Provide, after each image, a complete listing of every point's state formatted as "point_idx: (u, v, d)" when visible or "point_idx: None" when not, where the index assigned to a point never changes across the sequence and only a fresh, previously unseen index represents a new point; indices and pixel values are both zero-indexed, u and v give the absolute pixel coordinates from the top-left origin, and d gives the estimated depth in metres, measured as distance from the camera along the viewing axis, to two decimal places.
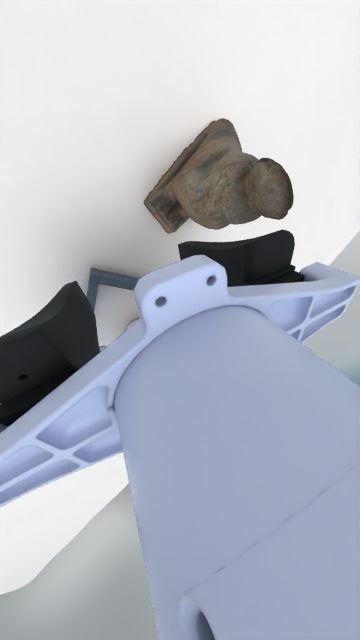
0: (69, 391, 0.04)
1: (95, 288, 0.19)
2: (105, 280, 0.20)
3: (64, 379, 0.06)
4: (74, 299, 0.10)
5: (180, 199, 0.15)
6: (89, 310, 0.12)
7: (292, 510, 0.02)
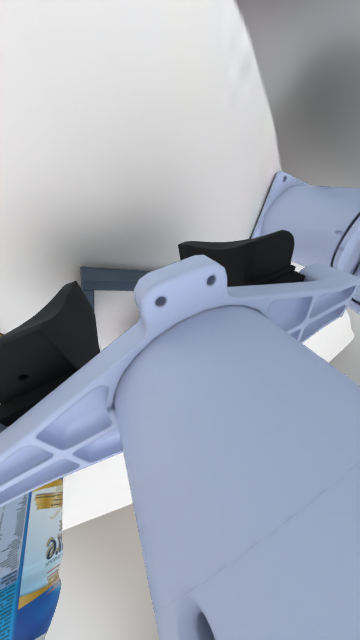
0: (69, 391, 0.04)
1: None
2: None
3: (64, 379, 0.06)
4: (74, 299, 0.10)
5: None
6: (89, 310, 0.12)
7: (292, 510, 0.02)
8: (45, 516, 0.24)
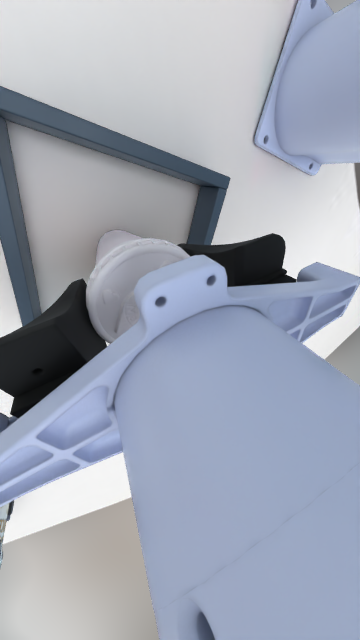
0: (69, 392, 0.04)
1: None
2: None
3: None
4: (82, 296, 0.10)
5: None
6: None
7: (292, 510, 0.02)
8: None
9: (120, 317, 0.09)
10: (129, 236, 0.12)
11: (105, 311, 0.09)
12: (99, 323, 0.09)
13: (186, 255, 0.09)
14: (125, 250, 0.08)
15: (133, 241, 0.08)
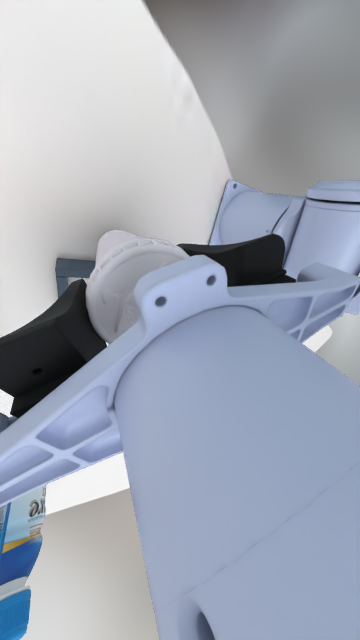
0: (69, 391, 0.04)
1: None
2: None
3: None
4: (82, 296, 0.10)
5: None
6: None
7: (292, 510, 0.02)
8: None
9: (120, 317, 0.09)
10: (129, 236, 0.12)
11: (105, 311, 0.09)
12: (99, 323, 0.09)
13: (186, 255, 0.09)
14: (125, 250, 0.08)
15: (133, 241, 0.08)
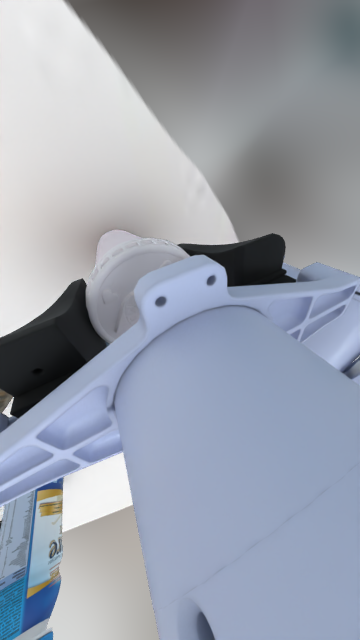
0: (69, 392, 0.04)
1: None
2: None
3: None
4: (82, 296, 0.10)
5: None
6: None
7: (292, 510, 0.02)
8: (47, 522, 0.29)
9: (120, 317, 0.09)
10: (129, 236, 0.12)
11: (105, 311, 0.09)
12: (99, 323, 0.09)
13: (186, 255, 0.09)
14: (125, 250, 0.08)
15: (133, 241, 0.08)
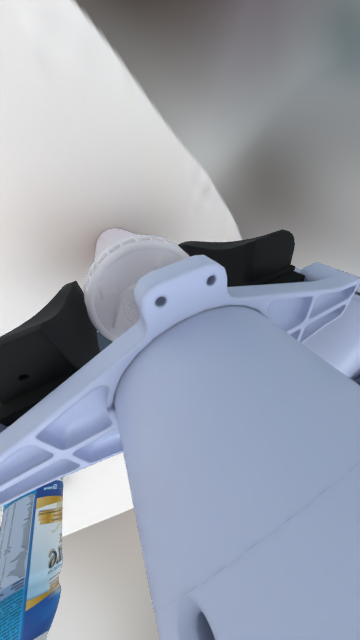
0: (69, 391, 0.04)
1: None
2: None
3: (64, 379, 0.06)
4: (74, 299, 0.10)
5: None
6: None
7: (292, 510, 0.02)
8: (47, 530, 0.28)
9: (117, 312, 0.09)
10: (127, 234, 0.12)
11: (103, 306, 0.09)
12: (97, 318, 0.09)
13: (182, 251, 0.09)
14: (122, 246, 0.08)
15: (130, 237, 0.09)
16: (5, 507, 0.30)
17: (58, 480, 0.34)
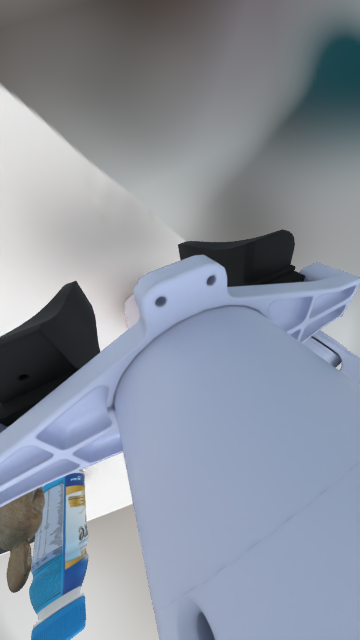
0: (69, 392, 0.04)
1: None
2: None
3: (64, 379, 0.06)
4: (74, 299, 0.10)
5: None
6: (89, 310, 0.12)
7: (292, 510, 0.02)
8: (75, 512, 0.35)
9: None
10: None
11: None
12: None
13: None
14: None
15: None
16: None
17: (81, 473, 0.41)
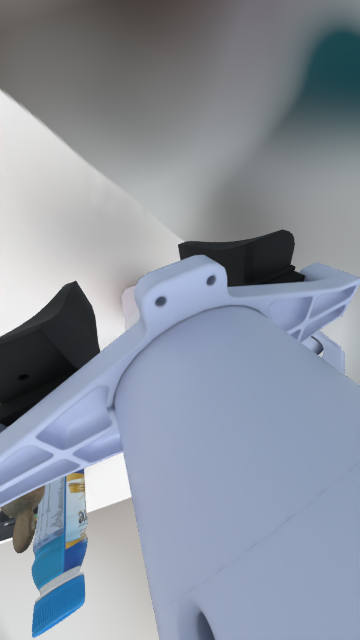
0: (70, 391, 0.04)
1: None
2: None
3: (64, 379, 0.06)
4: (74, 299, 0.10)
5: None
6: (89, 310, 0.12)
7: (292, 510, 0.02)
8: (75, 497, 0.37)
9: None
10: None
11: None
12: None
13: None
14: None
15: None
16: None
17: None
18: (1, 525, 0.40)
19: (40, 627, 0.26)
